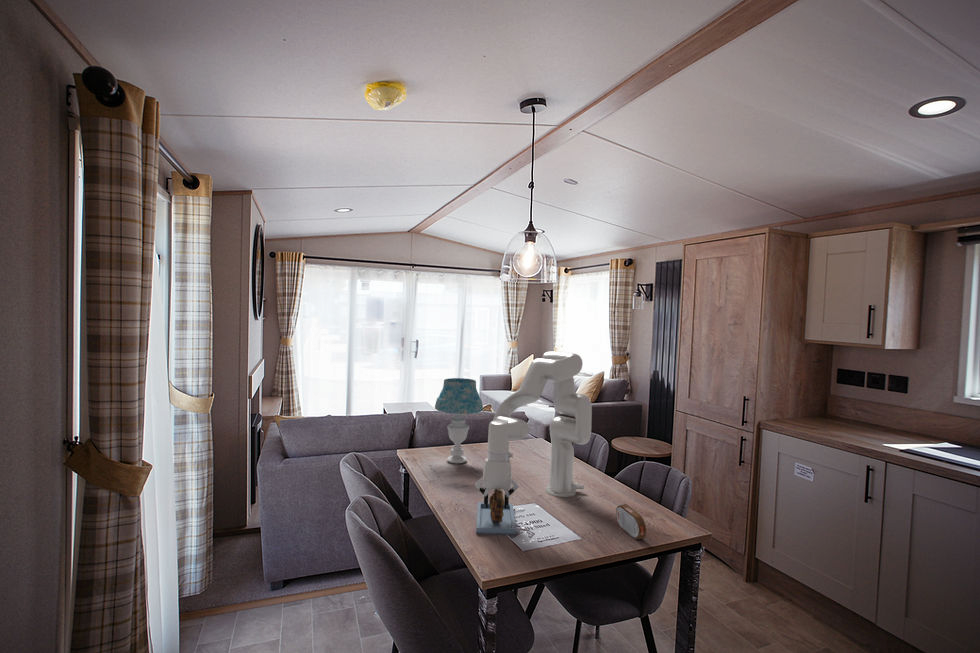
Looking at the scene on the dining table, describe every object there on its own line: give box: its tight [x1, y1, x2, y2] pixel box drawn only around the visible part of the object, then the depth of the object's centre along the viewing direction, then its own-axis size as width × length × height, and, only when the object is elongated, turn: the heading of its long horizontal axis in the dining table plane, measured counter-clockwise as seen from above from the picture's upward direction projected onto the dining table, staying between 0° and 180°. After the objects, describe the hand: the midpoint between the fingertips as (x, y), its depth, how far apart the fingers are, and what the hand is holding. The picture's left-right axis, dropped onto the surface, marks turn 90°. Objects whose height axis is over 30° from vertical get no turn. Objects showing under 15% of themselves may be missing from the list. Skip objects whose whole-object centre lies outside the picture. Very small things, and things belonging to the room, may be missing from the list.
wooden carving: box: [488, 489, 504, 522], centre depth 164 cm, size 16×5×10 cm, turn 13°
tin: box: [615, 503, 647, 540], centre depth 159 cm, size 15×3×8 cm, turn 16°
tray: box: [475, 501, 517, 536], centre depth 165 cm, size 13×21×2 cm, turn 0°
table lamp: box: [434, 377, 484, 464], centre depth 230 cm, size 24×24×40 cm
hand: (496, 506), depth 165 cm, fingers open, 6 cm apart
